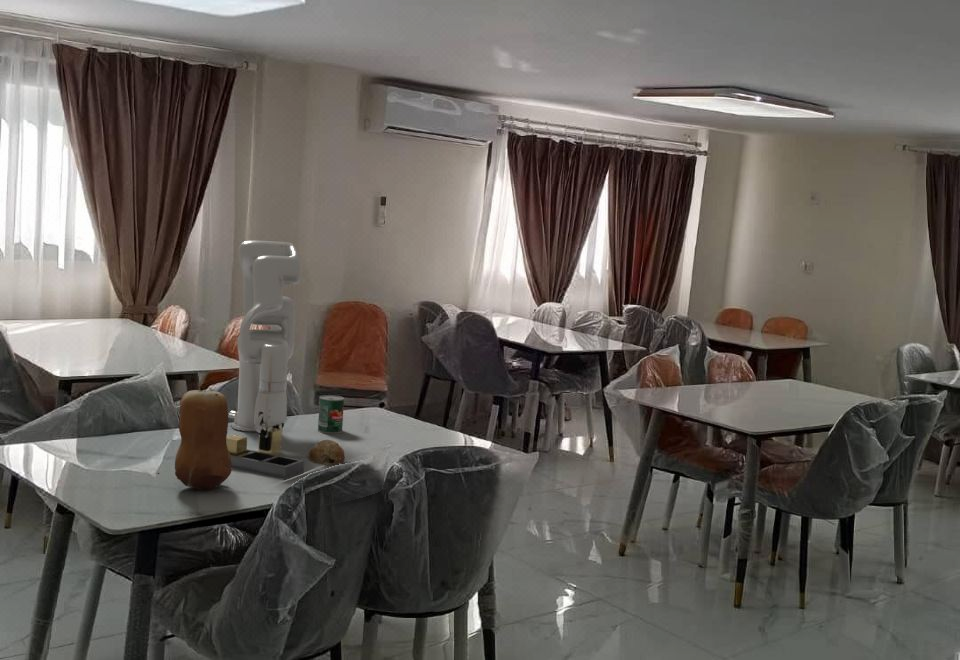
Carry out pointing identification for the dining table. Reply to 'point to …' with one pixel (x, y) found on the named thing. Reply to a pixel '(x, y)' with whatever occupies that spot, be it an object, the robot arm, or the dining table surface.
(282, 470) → the grey compartment tray
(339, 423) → the canned tomato
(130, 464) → the dining table surface
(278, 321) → the robot arm
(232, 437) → the khaki cardboard box
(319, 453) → the bread roll
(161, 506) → the dining table surface
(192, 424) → the butternut squash
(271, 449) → the tan cubic block
